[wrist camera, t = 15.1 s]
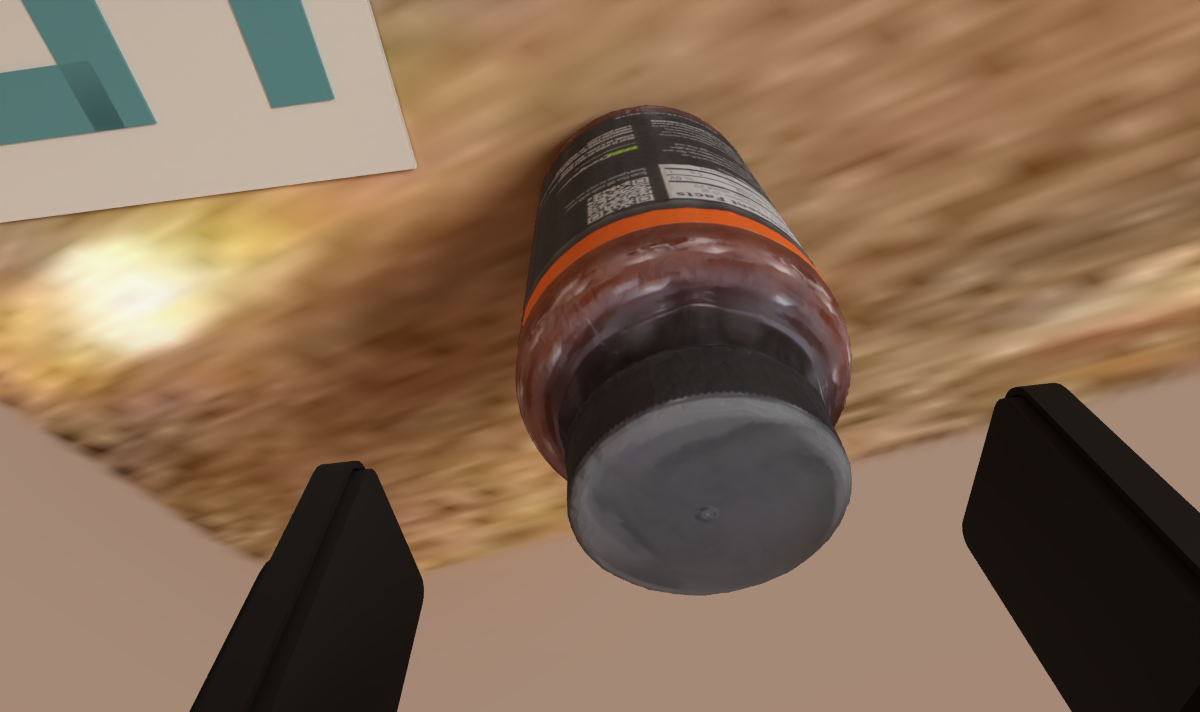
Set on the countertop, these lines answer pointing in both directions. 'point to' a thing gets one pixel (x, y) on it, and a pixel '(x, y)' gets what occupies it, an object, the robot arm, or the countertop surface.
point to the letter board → (188, 100)
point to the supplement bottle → (681, 360)
